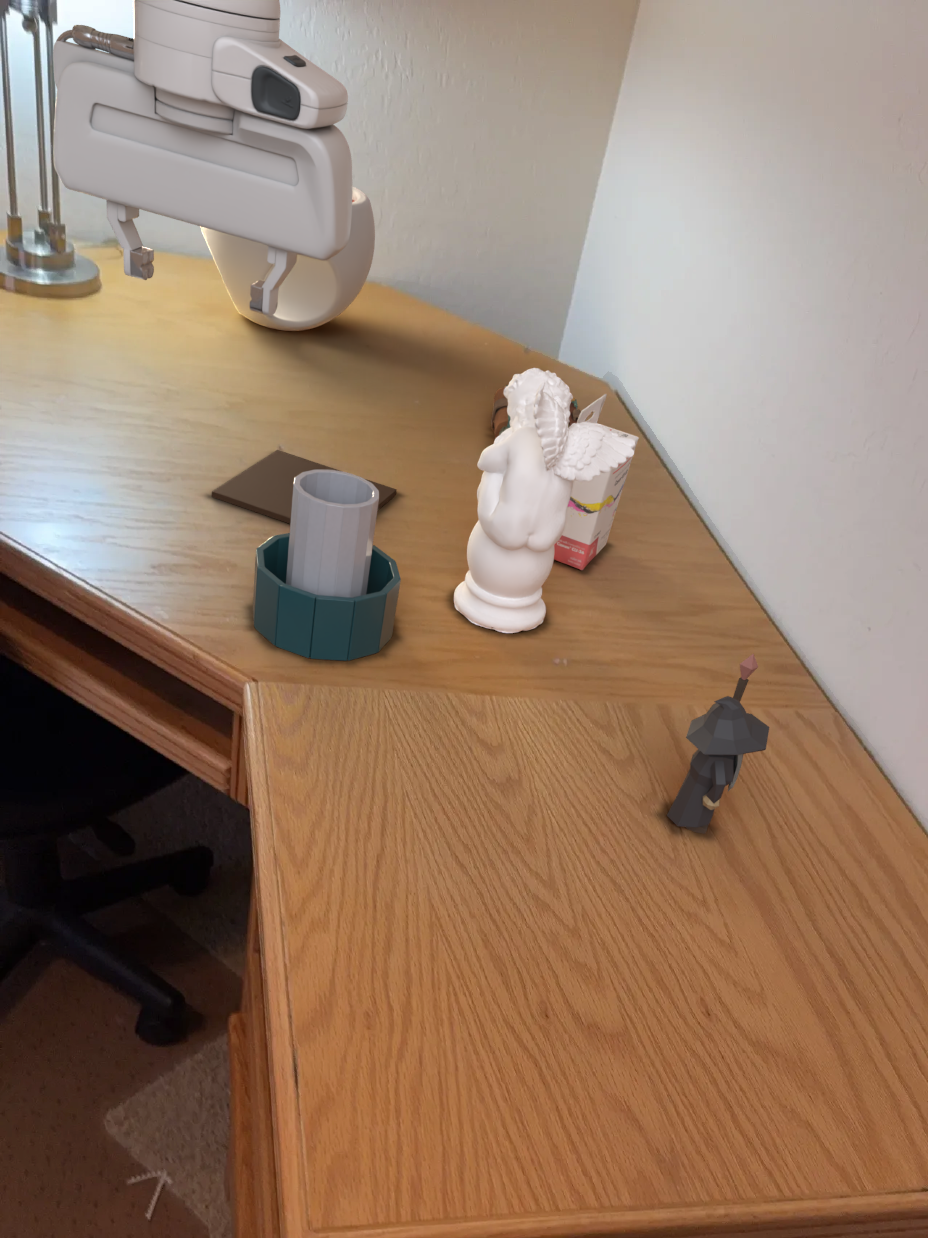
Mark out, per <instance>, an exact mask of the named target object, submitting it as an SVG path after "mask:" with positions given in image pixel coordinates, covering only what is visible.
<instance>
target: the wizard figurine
mask: <svg viewBox="0 0 928 1238" xmlns="http://www.w3.org/2000/svg"><path fill="white" fill-rule="evenodd" d="M758 668H759V665H758V662H757V659H756V656H755V654H754V653H751V655H750V656H748V657H747V658H745V659H744V660H743V661H741V662H740V663H739V670H740V677H739V678H738V681H737V683H736V687H735V690H734V693H733V696H729V695H726V696H724V697H720V698H719V699H717V700H714V701H713V704H712V705H711V707H710V708H709V709H708V710H707V712H706V713H704V714H702V715H700V716H698V717H696V718H694V719H692V720H691V721H690V724H689V726H688V730H687V733H686V736H685V738H686V739H687V741H689V742H690V743H691V744H692V745H693V746H694V747H695V748H696V751H695V752H694V753H693V754H692V755H691V759H690V763H689V770H688V771H687V774H686V776H685V777H684V780H683V782H682V784H681V786H680V787H679V790H678V792H677V794H676V796H675V798H674V800H673V803H672V805H671V806H670V807H669V810H668V812H667V814H666V816H667V818H668V819H670V821H672V822H673V823H674V824H675V825H676V826H677V827H682V828H683V827H684V828H685V829H686V830H689V831H691V832H694V833H697V834H703V835H704V834H706V833H707V831H708V828H709V825H710V823H711V821H712V819H713V817H714V813H715V809H717V808H718V807H720V803H721V799H722V796H723V793H724V791H725V789H726V786H727V792H729V791H731V790H732V789H733V788H734V786H735V784H736V782H737V780H738V777H739V773H740V771H741V768H742V764H743V760H744V755H745V754H751V753H757V752H763V751H766V749H767V745H768V739H769V734H770V733H769V732H770V726H769V725H768V724H766V723H765V722H763V721H762V720H760V719H759V718H758V717H757V716H756V715H754V714H752V713H748V712H747V711H746V709H745V707H744V706H743V705H742V703H741V700H742V698H743V695H744V693H745V692H746V691H745V690H746V688H747V686H748V684H749V680H750V679H749V677H750V676H751V675H752V674H753V673H754V672H755V671H756V670H757V669H758Z"/></svg>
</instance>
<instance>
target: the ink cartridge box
mask: <svg viewBox="0 0 928 1238" xmlns="http://www.w3.org/2000/svg"><path fill="white" fill-rule="evenodd" d="M606 399H607V393H604V394H603V395H602V396H600V397H599V398H597V399H596V400H594V401H593V402H591V403H590V404H589V405H587V406H586V407H584V408H583V409H582V410H580V411H581V413H580V415H579V417H578V420H577V423H581V422H584V421H585V422H590V423H598V421H599V419H600V416H601V413H602V410H603V407H604V404H605V402H606ZM591 414H592V416H591V417H589V416H590V415H591ZM588 417H589V418H588ZM600 424H601V423H600ZM601 425H603V427H606V428H607V429H608V430H610V431H612V432H614V433H617V434H619V435H618V436H619V437H625V438H629V439H633V440H634V441H635V446H634V447H633V448H632V449H633V450H634V452H635V451H636V448H637V445H638V443H639V442H638V441H639V439H640V437H639V436H637V435H635V434H631V433H629V432H625V431H622V430H619V429H617V428H616V429H615V428H614V427H610V426H607V425H604V424H601ZM633 457H634V455H633V456H632V457H629V458H626V459H627V460H626V462H625V463H623V464H618V467H617V468H614V469H613V468H610V471H609V472H607V473H602V472H600V475H599V476H593V479H592V480H591V481H589V482H587V481H583V482H581V483H580V482H577V481H576V480H575V479H574V483H573V489H572V493H571V497H570V500H569V503H568V507H567V514H566V524H565V528H564V531H563V534H562V536H561V538H560V539H559V540H558V541H557V542H556V543H555V544H554V550H555V551H554V561H557V562H560V563H562V564H564V565H568V566H569V567H573V568H575V569H577V570H580V571H584V570H585V568H586V567H587V566H588V565H589V564H590V562H592V560H593V559H594V558H596V556H597V555H598V554H599V553H600V552H601V551H602V549H603V548H605V547H606V546H607V544H608V540H609V535H610V532H611V529H612V526H613V523H614V519H615V516H616V512H617V509H618V507H619V503H620V499H621V496H622V493H623V489H624V486H625V483H626V480H627V477H628V474H629V470H630V466H631V464H632V461H633Z"/></svg>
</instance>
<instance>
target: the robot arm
mask: <svg viewBox="0 0 928 1238" xmlns="http://www.w3.org/2000/svg"><path fill="white" fill-rule="evenodd" d="M132 1H133V2H132V7H133V9H132V10H133V11H132V12H133V15H132V16H133V17H132V18H133V38H132V37H128V36H125V35H122V34H116V33H109V32H103V31H99V30H97V29H96V28H94V27H91V26H89V25H85V24H74V25H73V26H72V29H69V30H65V31H64V32H62V33H61V34H60V35H59V36H58V37H57V39H56V41H54V43H53V44H54V45H53V49H52V63H53V79H54V84H55V87H56V89H57V90H56V96H55V104H54V105H55V107H54V120H53V145H52V146H53V147H52V148H53V154H52V155H53V156H52V157H53V168H54V171H55V172H56V174H57V176H58V177H59V179H60V182H61V183H62V184H63V186H64V188H66V189H68V190H70V191H72V192H73V191H74V192H76V193H77V192H78V193H81V194H84V195H88V196H92V197H95V198H98V199H102V200H106V219H107V221H108V223H109V225H110V227H111V229H112V231H113V233H114V235H115V237H116V240H117V242H118V243H119V246H120V248H121V249H122V250H123V272H124V275H125V276H127V277H131V278H135V279H139V280H142V281H147V280H148V279H152V278H153V276H154V273H155V266H154V264H153V262H154V260H155V250H154V249H152V248H149V247H145V246H144V244H143V241H142V239H141V237H140V235H139V232H138V229H137V227H136V225H135V222H134V220H135V219H137V218H139V217H140V210H141V211H144V212H148V213H152V214H155V215H159V216H162V217H166V218H169V219H172V220H176V221H180V222H184V223H186V224H190V225H195V226H197V227H200V226H201V227H204V228H208V229H212V230H215V231H219V232H222V233H226V234H229V235H233V236H236V237H240V238H243V239H247V240H251V241H254V242H258V243H261V244H265V245H268V256H267V261H268V263H271V264H275V267H274V268H273V270H272V271H271V273H270V275H269V276H268V278H267V279H266V281H262V280H259V281H257V282H256V283H253V284H252V285H251V288H250V296H251V298H252V300H251V301H250V310H251V311H254V312H258V313H261V314H265V315H268V316H271V315H273V314H274V313H275V312H276V310H277V306H278V292H279V286H281V284H282V283H283V281H284V280H285V278H286V277H287V275H288V274H289V272H290V271H291V270H292V268H293V267H294V265H295V264H296V259H297V254H300V255H304V256H307V257H311V258H314V259H318V260H328V259H330V258H331V257H333V256H335V255H336V254H338V253H339V252H340V251H341V250H342V249H343V248H344V247H345V246H346V245H347V243H348V240H349V237H350V229H351V217H352V186H353V162H352V161H353V160H352V154H351V149H350V146H349V142H348V140H347V138H346V136H345V135H344V133H343V132H342V131H341V129H340V128H338V126H336V125H335V124H337V123H339V122H341V121H343V120H344V118H345V117H346V114H347V109H348V104H349V103H348V102H349V95H348V90H347V88H346V87H345V85H344V84H343V83H342V82H340V81H339V79H337V78H336V77H334V76H332V75H331V74H330V73H328V72H326V71H325V70H324V69H322V68H321V67H319V66H318V65H317V64H315V63H314V62H312V61H311V60H309V59H308V58H306V57H305V56H304V55H302V54H301V53H299V52H298V50H295V49H294V48H293V47H291V46H290V45H288V44H287V43H286V42H285V41H283V40H282V39H280V31H281V29H280V28H281V2H280V0H132ZM69 39H70V40H71V39H72V40H73V42H70V41H68V40H69Z"/></svg>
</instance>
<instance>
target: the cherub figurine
mask: <svg viewBox="0 0 928 1238" xmlns="http://www.w3.org/2000/svg"><path fill="white" fill-rule="evenodd" d="M507 385H508V386H507V387H506V386H504V387H505V389H504V396H505V397H506V398H507V399H508V407H507V413H508V415H509V416H510V418H511V420H510V428H508V429H506V430H505V431H504V432H502V433H501V435H499V436H498V437H497V438H496V439H495V438H494V441H493V444H491V445H488V446H487V447H486V448H484V449H483V450H482V452H481V454H480V456H479V459H478V461H477V465H476V466H477V469H479V470H480V471H483V472H482V475H481V479H480V482H479V485H478V487H477V490H476V499H477V518H478V520H477V522H476V523H475V525H474V527H473V528H472V530H471V533H470V534H469V538H468V540H467V547H466V560H467V565H468V570H467V572H466V574H465V576H464V580H463V581H461V582H460V583H459V584H457V586H456V588H455V590H454V593H453V603H454V604H453V605H454V608H455V610H456V611H458V612H459V613H460V614H461V615H463V616H464V617H465V618H466V619H467V620H468V621H469V622H470V623H472V624H474V625H475V626H480V627H483V628H485V629H490V630H495V631H497V632H499V633H503V634H513V633H514V634H515V633H519V632H521V631H523V632H525V631H526V632H527V631H530V630H533V629H536V628H537V627H538V626H539V625H541V624H543V623H544V620H545V617H546V613H547V606H546V603H545V601H544V600H543V598H542V596H543V587H542V586H543V585H544V584H545V582H546V581H547V579H548V578H549V576H550V574H551V571H552V569H553V566H554V561H555V560H554V551H555V550H554V544H555V543H556V542H557V541H558V540H559V539H560V538H561V536H562V534H563V531H564V528H565V524H566V514H567V507H568V503H569V500H570V497H571V493H572V489H573V483H574V479H575V480H576V481H577V482H580V483H581V482H583V481H587V482H589V481H591V480H592V479H593V476H599V475H600V472H602V473H607V472H609V471H610V468H613V469H614V468H617V467H618V464H623V463H625V462H626V460H627V459H626V458H629V457H632V456H633V457H634V455H635V451H634V450H633V449H632V448H633V447H634V446H635V441H634V440H633V439H629V438H625V437H619V436H618V435H619V434H617V433H614V432H612V431H610V430H608V429H607V428H606V427H603V425H604V424H602V425H601V423H598V422H597V423H590V422H586V420H585V421H584V422H581V423H577V424H576V423H573V424H572V425H571V426H570V427H569V428H568V423H569V422H570V421H569V416H570V411H569V406H570V404H571V400H572V399H573V397H574V396H573V394H572V392H571V390H570V389H571V388H570V387H569V385H568V384H566V383H565V381H564V380H562V379H561V377H559V376H558V375H557V373H555V372H551V371H550V370H549V369H547V370H545V371H544V370H543V369H541V368H539V367H533V368H529V369H526V370H524V371H523V372H522V373H515V374H513V376H512V379H511V380H509V382H508V384H507ZM633 457H632V458H633Z"/></svg>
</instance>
